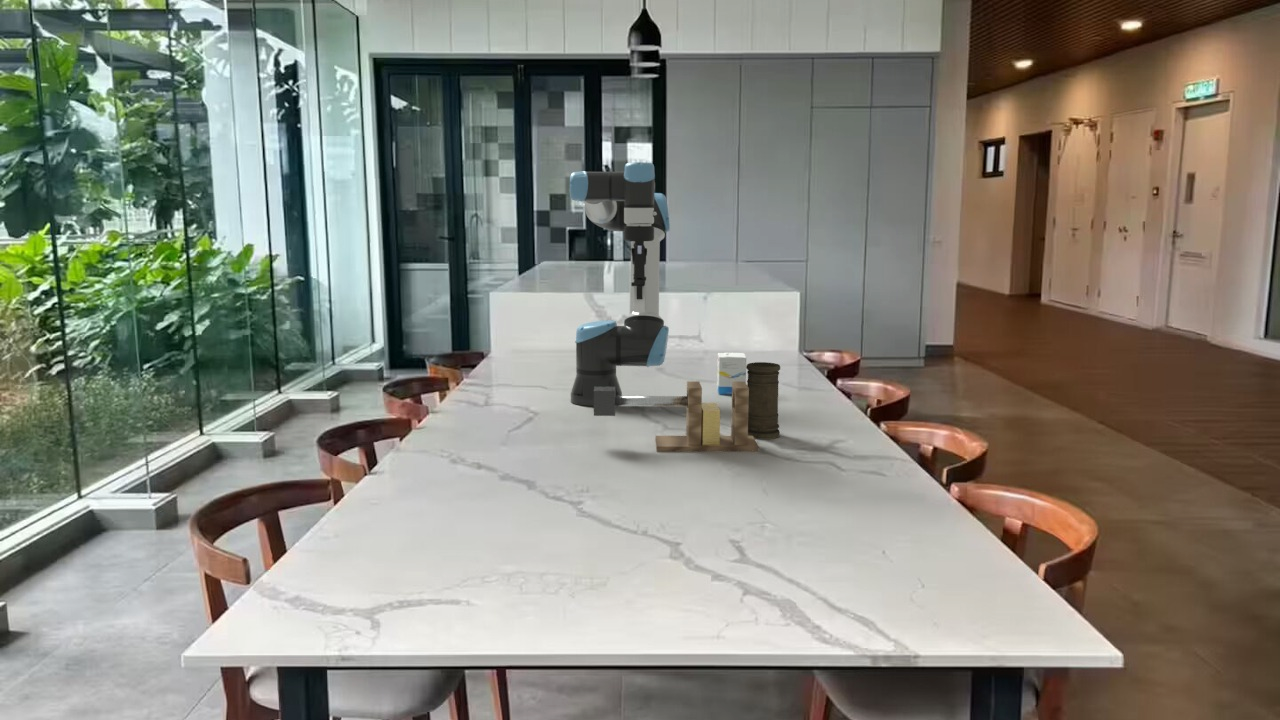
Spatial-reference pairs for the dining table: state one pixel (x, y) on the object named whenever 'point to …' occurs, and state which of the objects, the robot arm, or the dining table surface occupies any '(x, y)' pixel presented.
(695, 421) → the bearing rig
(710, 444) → the spacer
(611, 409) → the shaft
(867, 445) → the dining table surface
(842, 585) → the dining table surface
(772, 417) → the container
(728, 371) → the ink box
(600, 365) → the robot arm
